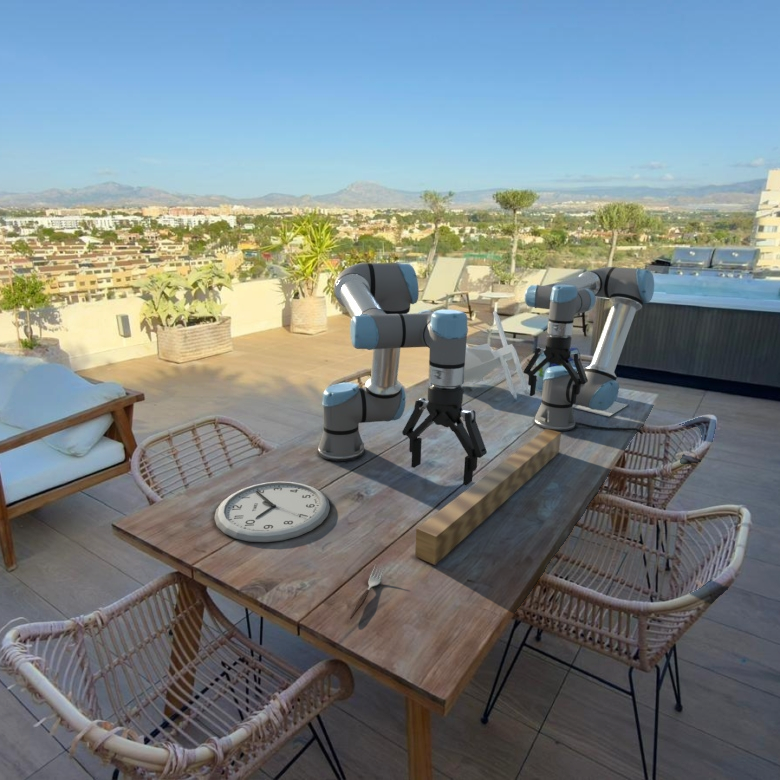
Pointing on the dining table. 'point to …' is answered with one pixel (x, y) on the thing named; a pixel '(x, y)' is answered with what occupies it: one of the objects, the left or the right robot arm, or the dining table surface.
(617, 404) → the invitation card
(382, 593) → the dining table surface
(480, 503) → the bar
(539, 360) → the lunch box
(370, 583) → the fork
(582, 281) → the right robot arm
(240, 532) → the wall clock
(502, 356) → the white plastic object
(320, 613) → the dining table surface
